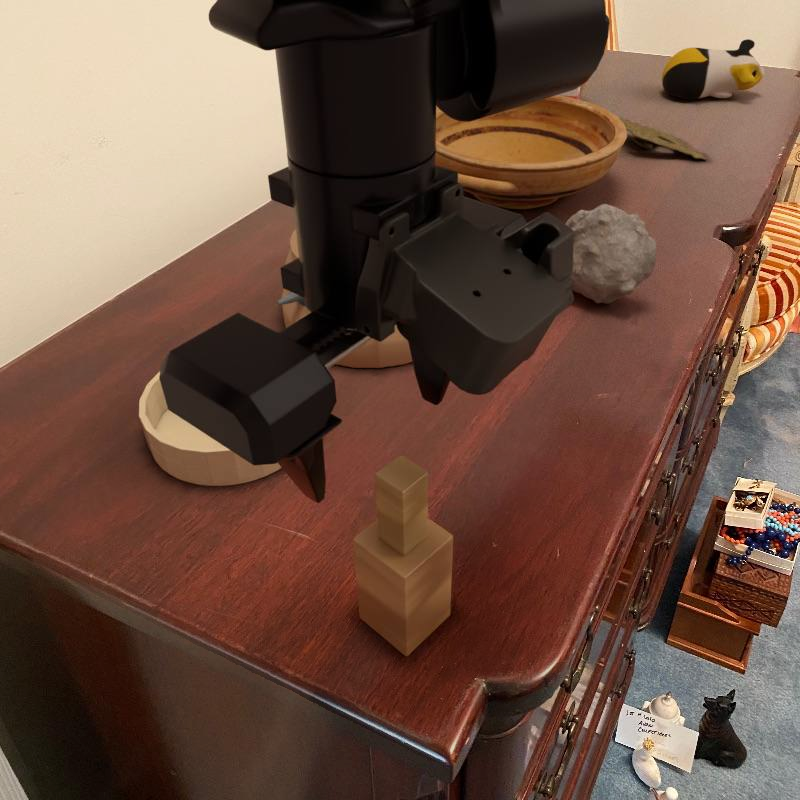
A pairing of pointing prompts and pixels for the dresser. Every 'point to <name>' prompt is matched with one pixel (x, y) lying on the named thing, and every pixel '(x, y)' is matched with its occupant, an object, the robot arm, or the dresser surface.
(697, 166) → the dresser surface
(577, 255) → the stone
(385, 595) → the stand
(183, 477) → the mixing bowl
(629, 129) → the ornament
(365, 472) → the dresser surface
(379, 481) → the tall wooden peg
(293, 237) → the alarm clock
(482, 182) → the ceramic bowl
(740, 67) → the figurine
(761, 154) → the dresser surface
